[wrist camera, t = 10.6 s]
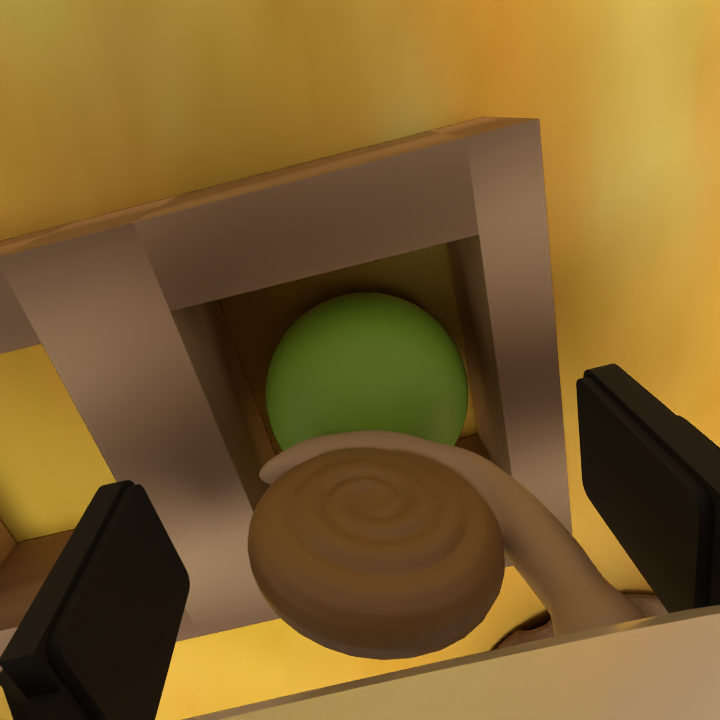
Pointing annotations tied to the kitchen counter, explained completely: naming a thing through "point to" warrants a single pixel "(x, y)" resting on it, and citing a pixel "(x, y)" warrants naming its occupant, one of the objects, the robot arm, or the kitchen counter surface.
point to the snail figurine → (397, 495)
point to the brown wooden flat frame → (219, 355)
